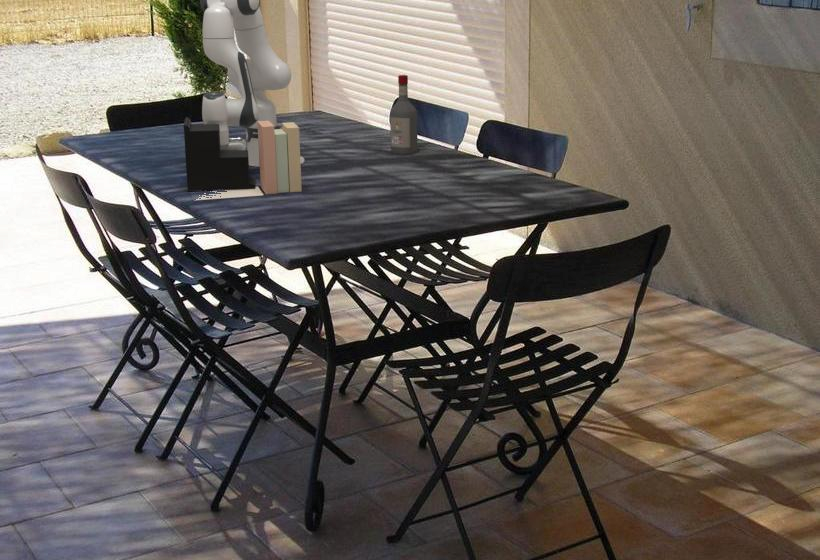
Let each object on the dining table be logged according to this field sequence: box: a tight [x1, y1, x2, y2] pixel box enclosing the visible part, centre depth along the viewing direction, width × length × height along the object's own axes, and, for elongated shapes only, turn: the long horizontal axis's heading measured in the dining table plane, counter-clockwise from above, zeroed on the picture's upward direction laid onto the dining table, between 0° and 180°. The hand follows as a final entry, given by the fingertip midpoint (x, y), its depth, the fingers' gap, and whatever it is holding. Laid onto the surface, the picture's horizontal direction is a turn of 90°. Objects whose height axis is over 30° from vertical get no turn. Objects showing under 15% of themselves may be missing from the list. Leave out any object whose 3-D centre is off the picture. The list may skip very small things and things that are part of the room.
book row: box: [257, 121, 303, 195], centre depth 416 cm, size 12×12×23 cm
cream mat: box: [195, 186, 264, 201], centre depth 414 cm, size 24×14×1 cm, turn 105°
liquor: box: [389, 74, 419, 156], centre depth 474 cm, size 9×9×30 cm
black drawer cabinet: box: [182, 116, 257, 191], centre depth 419 cm, size 23×11×24 cm, turn 96°
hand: (218, 177), depth 431 cm, fingers closed
